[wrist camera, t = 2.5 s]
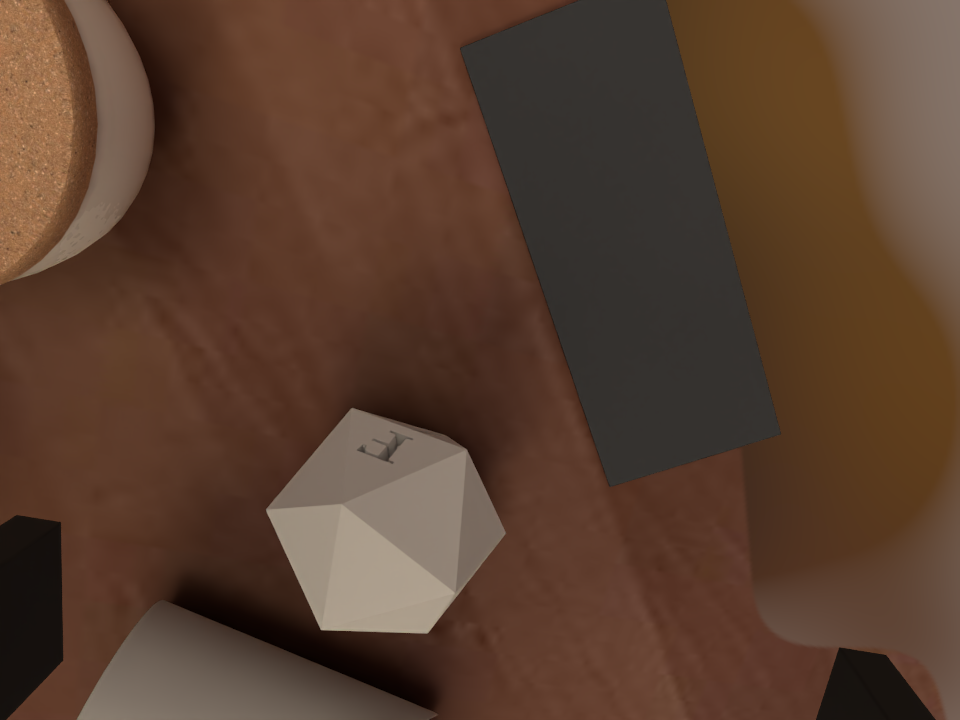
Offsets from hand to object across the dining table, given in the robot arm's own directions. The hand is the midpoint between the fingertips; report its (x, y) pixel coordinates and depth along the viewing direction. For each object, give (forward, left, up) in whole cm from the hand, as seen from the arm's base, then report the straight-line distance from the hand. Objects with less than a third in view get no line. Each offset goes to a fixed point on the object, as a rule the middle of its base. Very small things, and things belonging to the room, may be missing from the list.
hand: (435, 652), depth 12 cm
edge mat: (+4, +6, -20) cm, 21 cm away
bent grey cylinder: (0, -24, -20) cm, 31 cm away
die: (-1, -7, -20) cm, 21 cm away
